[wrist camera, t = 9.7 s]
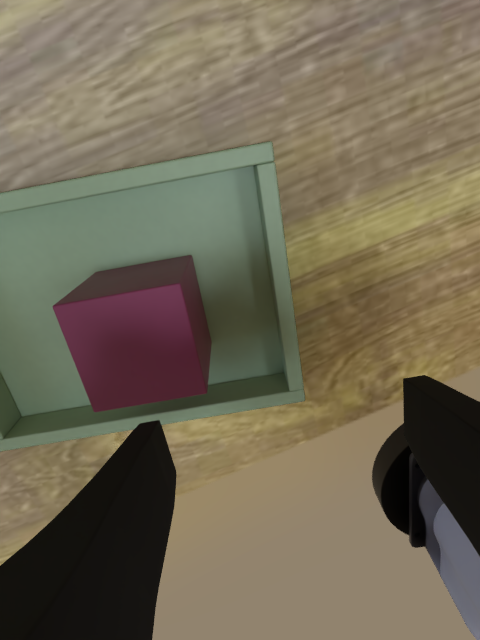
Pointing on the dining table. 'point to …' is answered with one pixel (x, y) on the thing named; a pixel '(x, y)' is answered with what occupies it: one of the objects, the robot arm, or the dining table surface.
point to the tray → (137, 248)
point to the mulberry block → (138, 334)
